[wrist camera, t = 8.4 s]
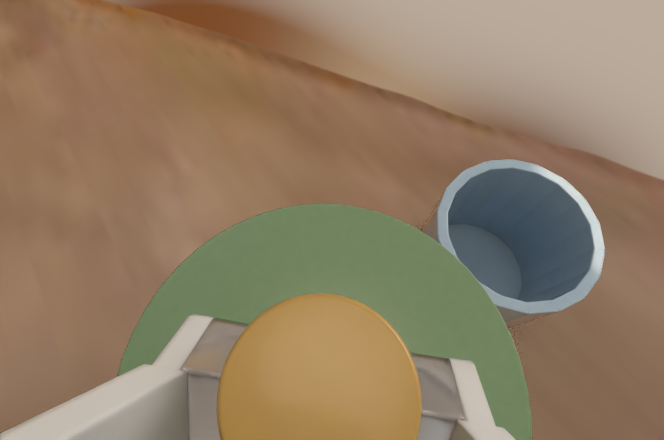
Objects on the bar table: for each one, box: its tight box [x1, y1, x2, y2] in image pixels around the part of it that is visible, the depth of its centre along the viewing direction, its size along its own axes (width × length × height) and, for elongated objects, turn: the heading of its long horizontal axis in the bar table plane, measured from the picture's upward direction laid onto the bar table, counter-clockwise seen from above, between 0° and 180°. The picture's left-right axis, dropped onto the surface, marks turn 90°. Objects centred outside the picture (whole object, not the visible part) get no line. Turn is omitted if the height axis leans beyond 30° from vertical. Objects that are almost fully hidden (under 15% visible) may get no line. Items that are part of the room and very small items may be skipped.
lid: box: [117, 204, 532, 440], centre depth 9 cm, size 11×11×7 cm
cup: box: [421, 159, 605, 328], centre depth 25 cm, size 9×9×9 cm
